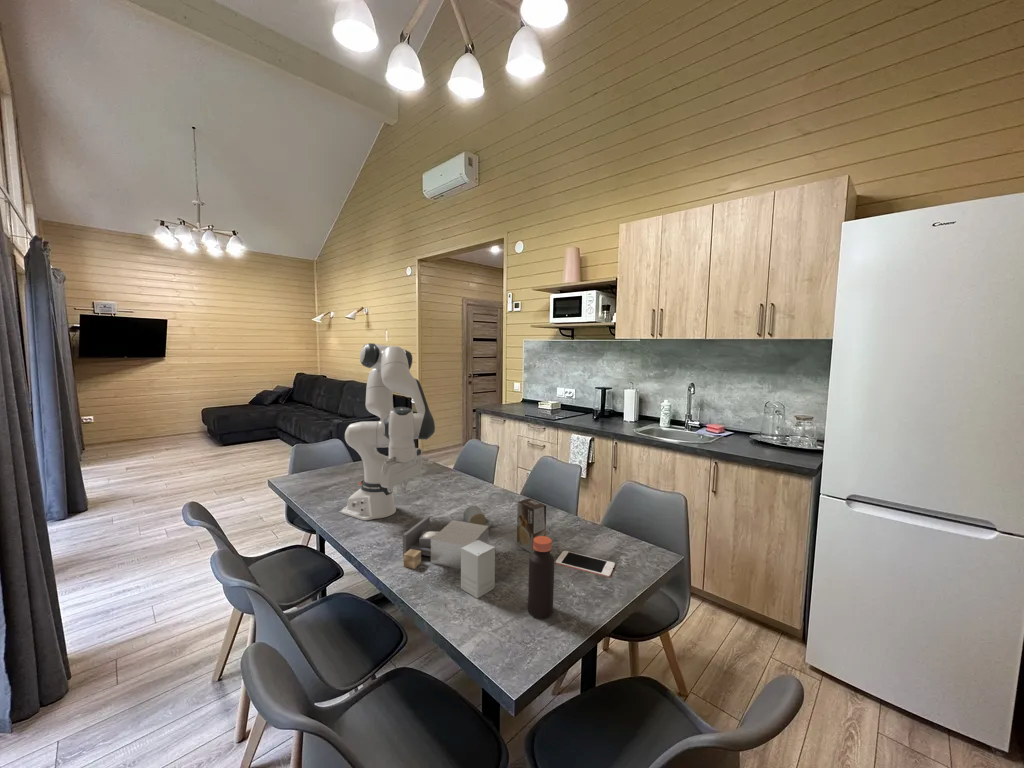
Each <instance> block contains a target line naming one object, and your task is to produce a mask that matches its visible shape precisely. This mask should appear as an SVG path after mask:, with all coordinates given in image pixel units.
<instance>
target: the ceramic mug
mask: <svg viewBox="0 0 1024 768" xmlns="http://www.w3.org/2000/svg"><path fill="white" fill-rule="evenodd" d="M462 517H463V518H462V519H463V522H467V523H473V524H479V525H485V526H489V528H491V527H492V525H493V522H492V520H490V519H488V518H487V517H486V516H485V514H484V512H483V511H482V509H481V507H480V506H477V505H471V506H468V507H467V508H466V509H465V510H464V512H463V516H462Z"/></svg>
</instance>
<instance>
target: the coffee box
mask: <svg viewBox="0 0 1024 768" xmlns="http://www.w3.org/2000/svg"><path fill="white" fill-rule="evenodd" d="M516 513H517V514H516V515H517V518H516V519H517V520H516V521H517V522H516V523H517V525H516V527H517V528H516V529H517V531H516V545H517V546H518V547H520V548H522V549H524V550H525V551H526V552H528V553H530V554H532V553H533V552H534V550H533V539H534V538H535V537H537V536H546V537H547V535H546V533H547V531H546V530H547V529H546V528H547V505H546V504H545V503H542V502H540V501H537V500H535V499H532V498H526V499H522V500H520V501H517V512H516Z"/></svg>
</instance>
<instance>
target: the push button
mask: <svg viewBox="0 0 1024 768" xmlns="http://www.w3.org/2000/svg"><path fill="white" fill-rule="evenodd" d="M439 532H440V531H435V530H433V531H432V530H430V531H423V533H422V535H421V536H420V538H419V547H427V548H431V539H432V538H433V537H434V536H435V535H436V534H437V533H439Z"/></svg>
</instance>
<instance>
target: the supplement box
mask: <svg viewBox="0 0 1024 768" xmlns="http://www.w3.org/2000/svg"><path fill="white" fill-rule="evenodd" d="M495 571H496V546H494V545H491V544H489V543H488V544H487V543H484V542H482V541H480V540H477V541H475V542H473V543H470V544H468V545H466V546H464V547H462V548H461V569H460V589H461V590H462V591H464V592H466V593H468V594H469V595H471V596H472V597H474V598H476V599H479V598H480V597H482V596H484V595H485V594H487V593H489V592H490V591H493V590H494V589H495V585H496V582H495V580H496V578H495V577H496V576H495V575H496V573H495Z"/></svg>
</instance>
